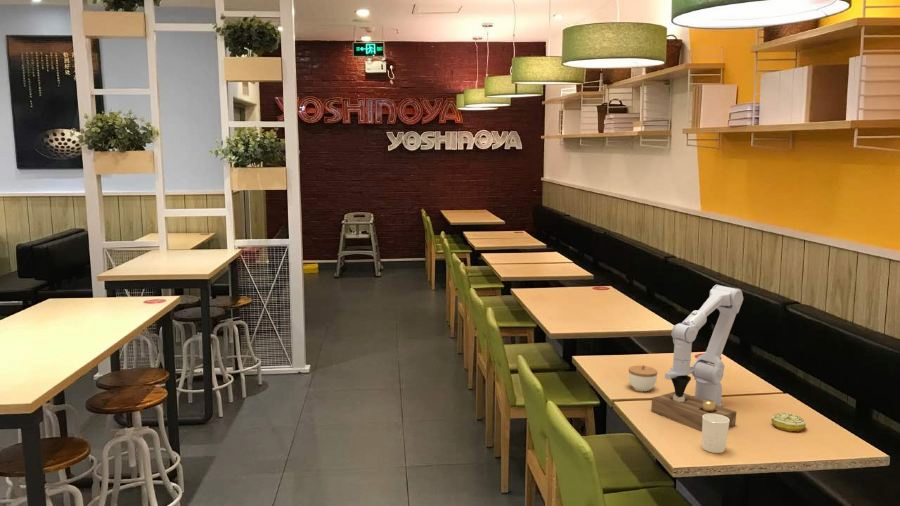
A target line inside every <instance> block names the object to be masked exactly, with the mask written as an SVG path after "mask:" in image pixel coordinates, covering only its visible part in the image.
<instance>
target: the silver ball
mask: <svg viewBox="0 0 900 506" xmlns="http://www.w3.org/2000/svg"><path fill="white" fill-rule="evenodd" d="M673 400H675V401H678V402H684V401H685V396H684V395H683V396H682V397H679V396H676V394H674V395H673Z"/></svg>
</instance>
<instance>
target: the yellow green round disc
mask: <svg viewBox="0 0 900 506" xmlns="http://www.w3.org/2000/svg"><path fill="white" fill-rule="evenodd" d="M770 420H771V423H772V425H773V426H774V427H775V428H776V429H778V430H781V431H784V430H785V431H784V432H789V431H797V432H802V431H803V430H804V429H805V427H806V426H807V423H806V420H804V419H803V418H802V417H801V416H798V415H796V414H793V413H789V412H788V413H785V412H783V413H781V412H780V413H775V414H773V415H771V419H770Z"/></svg>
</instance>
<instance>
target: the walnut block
mask: <svg viewBox="0 0 900 506" xmlns="http://www.w3.org/2000/svg"><path fill="white" fill-rule="evenodd" d="M674 394H675V391H673V392H668V393H665V394H661V395H657V396H653V397H651V407H650V408H651V410H650V412H652V413H654V414H657V415H659V416H662V417H664V416H665V418H667V419H669V418H670V419H669V420H672V421H674V420H675V422H678V423H680V424H682V425H685V426H688V427H690V428H693V429H695V430H697V431H700V432H702V416H703V415H705V414H719V415H723V416H725V417H727V418H729V420H730V421H729V428H728V429H730V428H732V427H733V428H734V427H735V426H736V422H737V411H736V410H732V409H730V408H728V407H725V406H719V405H716V404H715V411H714V412H713V413H708V412H705V411H702V403H703V400H702V399H699V398H696V397H695V395H694V396H693V395H690V394H688V393H685V392H684V394H683V395H684V396H685V401H684V402H678V401H675V400H673V395H674Z"/></svg>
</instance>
